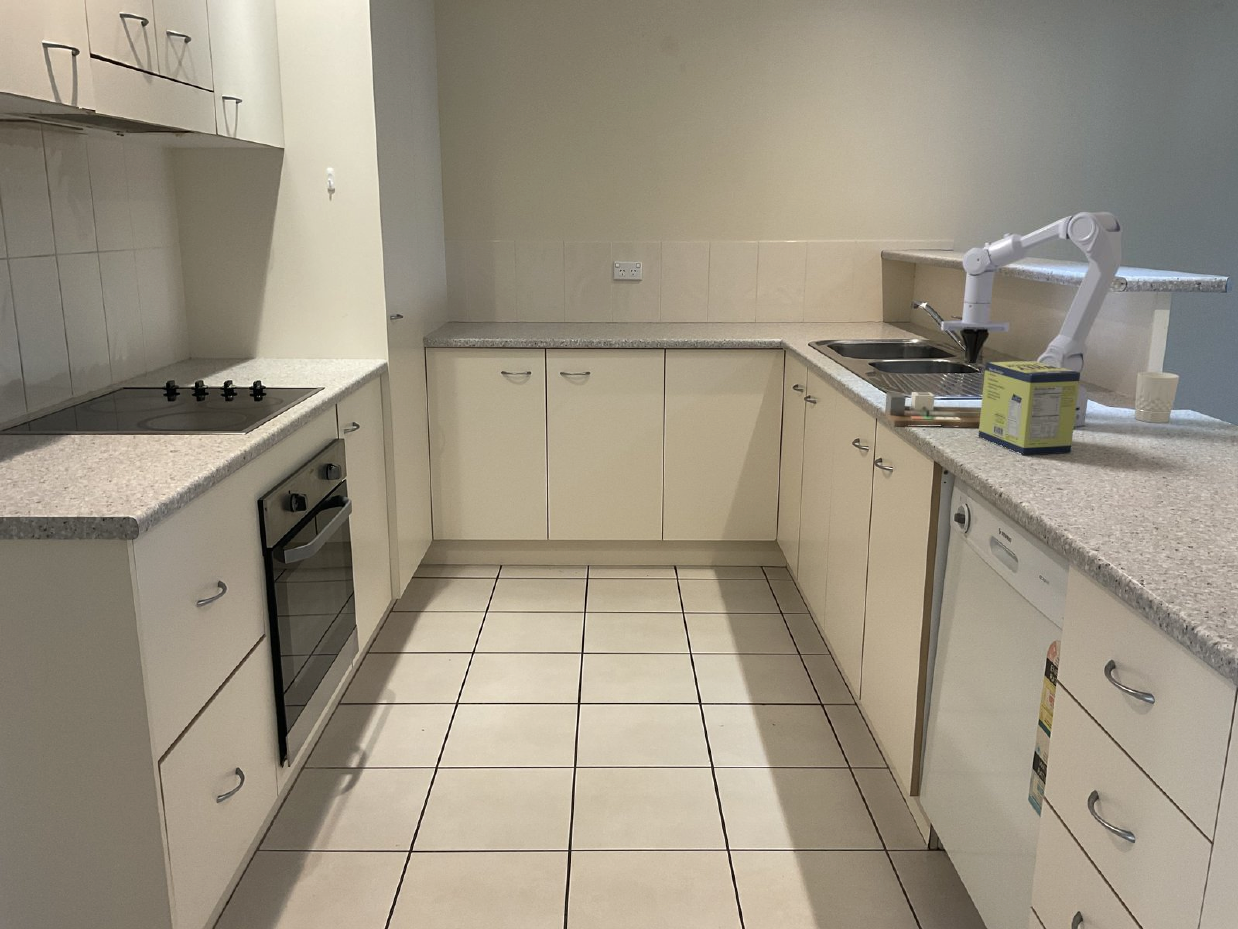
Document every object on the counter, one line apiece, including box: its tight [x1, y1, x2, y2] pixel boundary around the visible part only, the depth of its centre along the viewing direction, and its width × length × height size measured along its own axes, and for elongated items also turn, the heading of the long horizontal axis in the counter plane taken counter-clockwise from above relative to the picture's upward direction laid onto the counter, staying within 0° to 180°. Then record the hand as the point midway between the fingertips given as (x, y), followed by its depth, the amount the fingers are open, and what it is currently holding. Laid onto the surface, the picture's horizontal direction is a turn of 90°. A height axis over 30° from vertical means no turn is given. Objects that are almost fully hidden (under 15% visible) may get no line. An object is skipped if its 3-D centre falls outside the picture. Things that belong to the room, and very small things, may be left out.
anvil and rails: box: [884, 391, 981, 417], centre depth 211 cm, size 21×6×4 cm, turn 85°
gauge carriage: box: [910, 391, 936, 417], centre depth 210 cm, size 4×8×4 cm, turn 175°
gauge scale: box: [910, 416, 961, 421], centre depth 207 cm, size 10×3×1 cm, turn 85°
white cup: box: [1133, 371, 1180, 424], centre depth 211 cm, size 8×8×10 cm
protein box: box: [978, 359, 1081, 456], centre depth 188 cm, size 10×16×16 cm
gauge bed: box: [884, 409, 980, 429], centre depth 210 cm, size 22×11×1 cm, turn 85°
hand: (971, 362), depth 222 cm, fingers closed
